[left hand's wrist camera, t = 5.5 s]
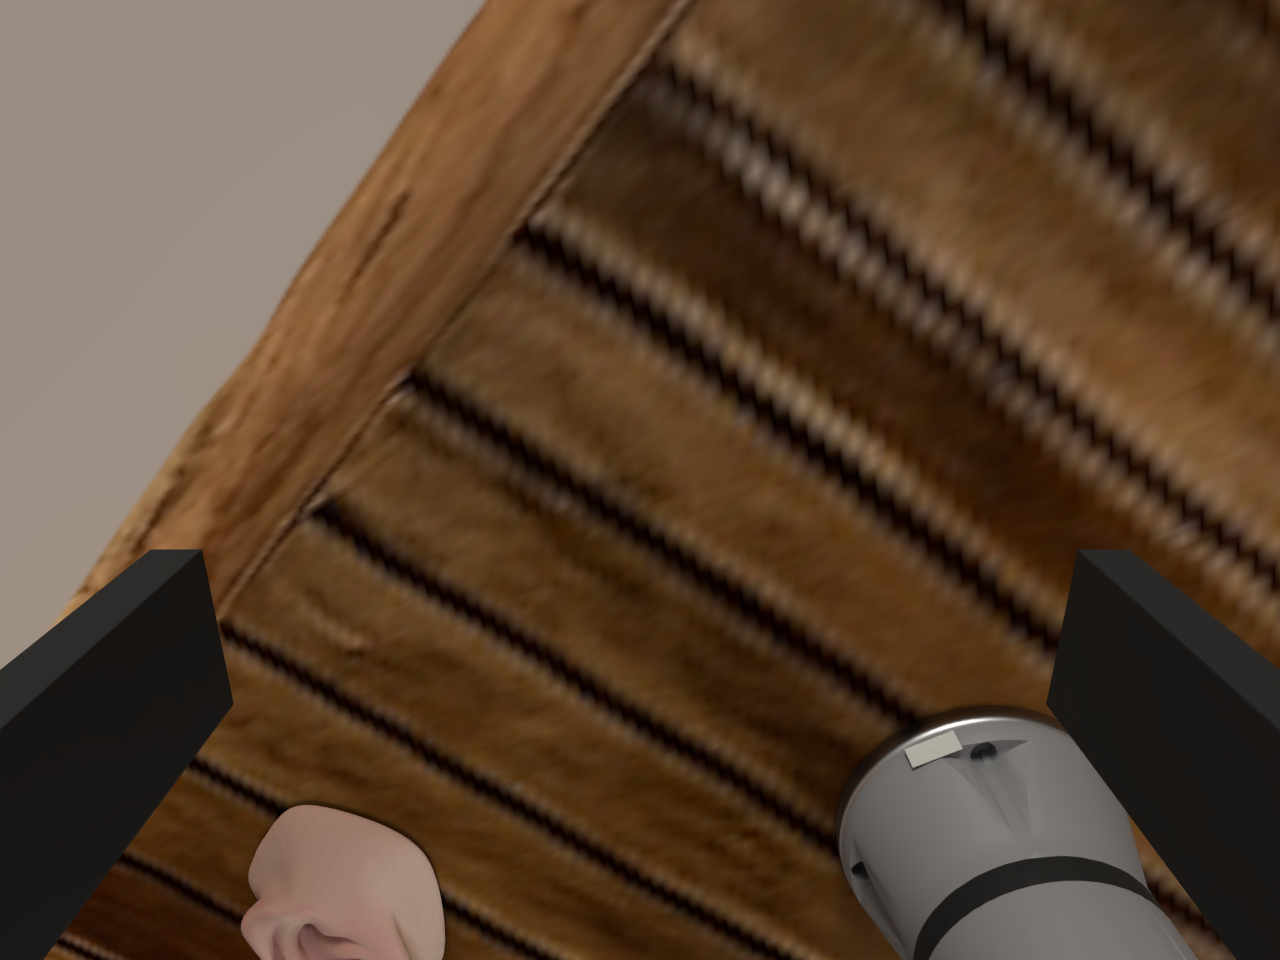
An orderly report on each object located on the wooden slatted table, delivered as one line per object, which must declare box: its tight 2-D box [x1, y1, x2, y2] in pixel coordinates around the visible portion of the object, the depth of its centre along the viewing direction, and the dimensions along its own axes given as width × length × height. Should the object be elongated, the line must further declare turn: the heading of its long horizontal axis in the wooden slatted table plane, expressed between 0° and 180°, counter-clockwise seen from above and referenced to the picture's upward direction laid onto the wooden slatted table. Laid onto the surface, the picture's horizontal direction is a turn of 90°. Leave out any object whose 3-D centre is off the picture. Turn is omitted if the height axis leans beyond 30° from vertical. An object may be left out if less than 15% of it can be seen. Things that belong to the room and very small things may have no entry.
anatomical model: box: [241, 805, 445, 960], centre depth 48 cm, size 13×4×12 cm
